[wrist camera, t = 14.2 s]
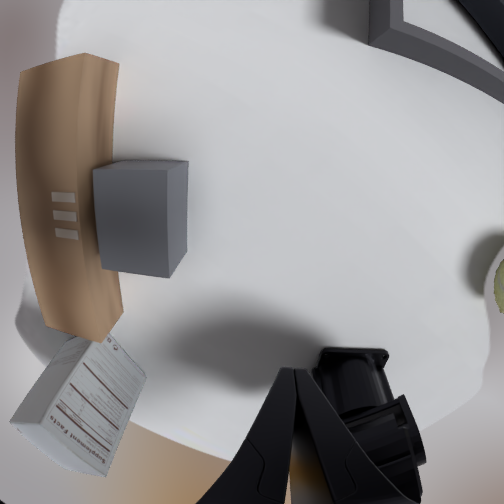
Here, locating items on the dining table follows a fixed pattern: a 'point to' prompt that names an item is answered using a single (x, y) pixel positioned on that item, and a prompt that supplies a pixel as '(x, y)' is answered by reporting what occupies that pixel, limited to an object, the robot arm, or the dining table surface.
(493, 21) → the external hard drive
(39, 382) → the supplement box
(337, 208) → the dining table surface
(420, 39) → the bumper frame
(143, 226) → the box
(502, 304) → the tennis ball
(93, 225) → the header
